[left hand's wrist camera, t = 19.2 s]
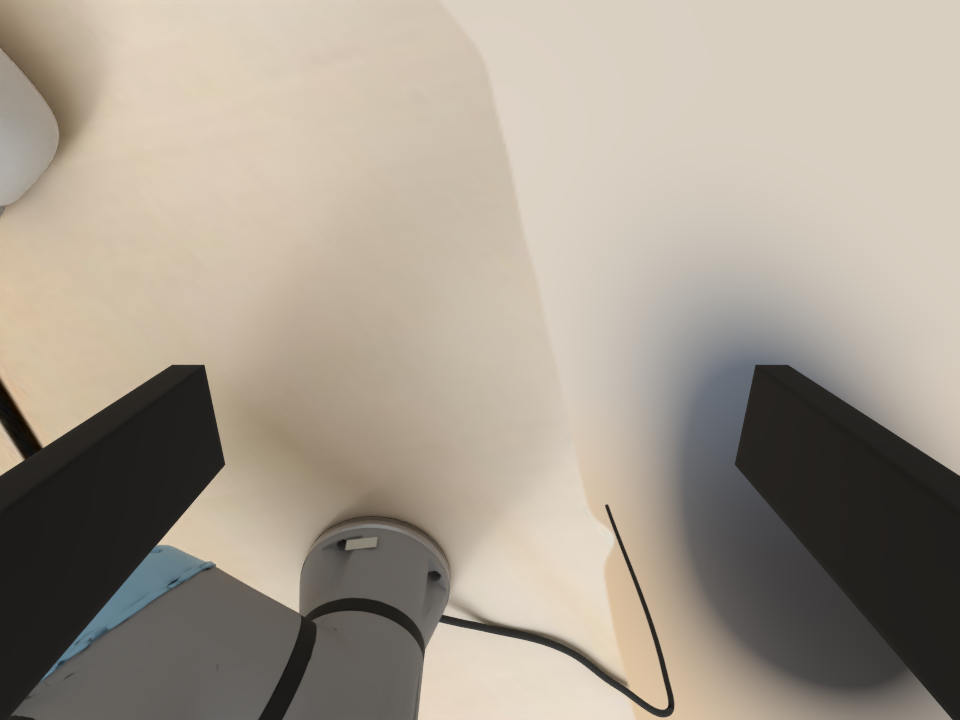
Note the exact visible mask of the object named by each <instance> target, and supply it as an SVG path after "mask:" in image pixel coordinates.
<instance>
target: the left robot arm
mask: <svg viewBox="0 0 960 720" xmlns="http://www.w3.org/2000/svg"><path fill="white" fill-rule="evenodd" d="M224 465H225V461H224V457H223V452H222V447H221V442H220V438H219V433H218V428H217V423H216V418H215V414H214V409H213V404H212V399H211V394H210V390H209V385H208V380H207V375H206V371H205V366H204V365H171V366H170V367H168V368H167V369H165V370H164V371H162V372H161V373H159V374H157V375H156V376H154V377H153V378H151V379H150V380H148V381H147V382H145V383H143V384H142V385H140V386H139V387H137V388H136V389H134V390H133V391H131V392H130V393H128V394H126V395H125V396H123V397H122V398H120V399H119V400H117V401H116V402H114V403H113V404H111V405H109V406H108V407H106V408H105V409H103V410H102V411H100V412H99V413H97V414H95V415H94V416H92V417H91V418H89V419H88V420H86V421H85V422H83V423H82V424H80V425H78V426H77V427H75V428H74V429H72V430H71V431H69V432H68V433H66V434H65V435H63V436H61V437H60V438H58V439H57V440H55V441H54V442H52V443H51V444H49V445H48V446H46V447H44V448H43V449H41V450H40V451H38V452H37V453H35V454H34V455H32V456H30V457H29V458H27V459H26V460H24V461H23V462H21V463H20V464H18V465H17V466H15V467H13V468H12V469H10V470H9V471H7V472H6V473H4V474H3V475H1V476H0V720H418V711H419V701H420V691H421V682H422V672H423V662H424V654H425V649H426V647H427V645H428V642H429V640H430V638H431V636H432V634H433V632H434V630H435V628H436V626H437V624H438V622H441V623H446V624H450V625H455V626H459V627H464V628H469V629H475V630H480V631H484V632H489V633H493V634H498V635H503V636H508V637H513V638H518V639H523V640H527V641H531V642H535V643H539V644H542V645H545V646H548V647H551V648H554V649H556V650H558V651H561V652H563V653H565V654H567V655H569V656H571V657H573V658H574V659H576V660H578V661H579V662H581V663H582V664H583V665H585V666H586V667H587V668H588V669H590V670H591V671H592V672H593V673H595V674H596V675H597V676H598V677H600V678H601V679H602V680H604V681H605V682H607V683H608V684H609V685H611V686H613V687H614V688H616V689H617V690H619V691H620V692H622V693H623V694H625V695H626V696H627V697H629V698H630V699H631V700H633V701H634V702H635V703H637V704H638V705H639V706H641V707H642V708H644V709H645V710H647V711H648V712H650V713H652V714H653V715H656V716H658V717H668V716H670V715H671V714H672V713H673V711H674V705H675V704H674V697H673V693H672V688H671V685H670V681H669V677H668V673H667V669H666V665H665V661H664V657H663V653H662V650H661V646H660V643H659V639H658V636H657V633H656V630H655V627H654V624H653V621H652V618H651V615H650V612H649V610H648V607H647V604H646V601H645V599H644V596H643V593H642V591H641V588H640V585H639V583H638V580H637V578H636V575H635V573H634V570H633V568H632V565H631V562H630V560H629V558H628V555H627V552H626V550H625V547H624V545H623V542H622V540H621V537H620V535H619V532H618V530H617V527H616V524H615V522H614V519H613V516H612V514H611V511H610V508H609V505H608V504H606V505H605V508H606V510H607V513H608V516H609V519H610V522H611V524H612V527H613V530H614V532H615V535H616V538H617V540H618V543H619V545H620V548H621V551H622V553H623V556H624V558H625V561H626V564H627V566H628V569H629V571H630V574H631V577H632V579H633V582H634V585H635V587H636V590H637V593H638V595H639V598H640V601H641V604H642V607H643V609H644V612H645V615H646V618H647V621H648V624H649V627H650V630H651V634H652V637H653V640H654V644H655V648H656V651H657V655H658V659H659V663H660V667H661V671H662V676H663V680H664V684H665V688H666V692H667V697H668V707H667V709H665V710H660V709H657V708H654V707H652V706H651V705H649V704H648V703H646V702H645V701H643V700H642V699H641V698H639V697H638V696H637V695H635V694H634V693H633V692H631V691H630V690H629V689H627V688H626V687H624V686H623V685H621V684H620V683H618V682H617V681H615V680H614V679H612V678H611V677H609V676H608V675H606V674H605V673H604V672H603V671H601V670H600V669H599V668H598V667H596V666H595V665H594V664H593V663H591V662H590V661H589V660H588V659H586V658H585V657H583V656H582V655H580V654H579V653H577V652H576V651H574V650H572V649H570V648H569V647H566V646H564V645H562V644H560V643H558V642H555V641H552V640H550V639H547V638H544V637H540V636H537V635H533V634H529V633H525V632H520V631H515V630H510V629H505V628H500V627H496V626H491V625H487V624H482V623H478V622H473V621H467V620H463V619H458V618H454V617H449V616H445V615H442V614H443V612H444V610H445V607H446V605H447V602H448V598H449V589H450V569H449V565H448V562H447V559H446V557H445V555H444V553H443V552H442V550H441V549H440V547H439V546H438V545H437V544H436V542H435V541H434V540H433V539H432V538H430V537H429V536H428V535H427V534H425V533H424V532H423V531H421V530H419V529H418V528H416V527H414V526H412V525H410V524H407V523H405V522H402V521H399V520H395V519H391V518H384V517H361V518H355V519H351V520H347V521H344V522H341V523H339V524H337V525H335V526H333V527H331V528H330V529H328V530H327V531H325V532H324V533H323V534H322V535H321V536H320V537H319V538H318V539H317V540H316V541H315V542H314V544H313V545H312V547H311V549H310V551H309V553H308V555H307V557H306V560H305V562H304V564H303V567H302V571H301V578H300V604H299V613H297V612H296V611H294V610H292V609H290V608H288V607H286V606H285V605H283V604H281V603H279V602H277V601H275V600H274V599H272V598H270V597H268V596H266V595H264V594H263V593H261V592H259V591H257V590H255V589H253V588H252V587H250V586H248V585H246V584H245V583H243V582H241V581H239V580H238V579H236V578H234V577H232V576H231V575H229V574H227V573H225V572H224V571H222V570H220V569H219V568H217V567H216V564H214V563H213V562H205V561H203V560H200V559H198V558H196V557H194V556H192V555H189V554H187V553H185V552H183V551H181V550H179V549H177V548H175V547H172V546H168V545H157V544H158V543H159V541H160V540H161V539H162V538H163V537H164V536H165V534H166V533H167V532H168V531H169V530H170V529H171V527H172V526H173V525H174V524H175V523H176V522H177V520H178V519H179V518H180V517H181V516H182V515H183V513H184V512H185V511H186V510H187V509H188V508H189V506H190V505H191V504H192V503H193V502H194V500H195V499H196V498H197V497H198V496H199V495H200V493H201V492H202V491H203V490H204V489H205V488H206V486H207V485H208V484H209V483H210V482H211V481H212V479H213V478H214V477H215V476H216V475H217V474H218V472H219V471H220V470H221V469H222V468H223V467H224ZM735 465H736V467H737V468H738V469H739V470H740V471H741V472H742V474H743V475H744V476H745V477H746V478H747V479H748V481H749V482H750V483H751V484H752V485H753V486H754V488H755V489H756V490H757V491H758V492H759V493H760V495H761V496H762V497H763V498H764V499H765V500H766V502H767V503H768V504H769V505H770V506H771V507H772V509H773V510H774V511H775V512H776V513H777V515H778V516H779V517H780V518H781V519H782V520H783V522H784V523H785V524H786V525H787V526H788V527H789V529H790V530H791V531H792V532H793V533H794V534H795V536H796V537H797V538H798V539H799V540H800V541H801V543H802V544H803V545H804V546H805V547H806V548H807V550H808V551H809V552H810V553H811V554H812V556H813V557H814V558H815V559H816V560H817V561H818V563H819V564H820V565H821V566H822V567H823V568H824V570H825V571H826V572H827V573H828V574H829V575H830V577H831V578H832V579H833V580H834V581H835V582H836V584H837V585H838V586H839V587H840V588H841V589H842V591H843V592H844V593H845V594H846V595H847V597H848V598H849V599H850V600H851V601H852V602H853V603H854V605H855V606H856V607H857V608H858V609H859V611H860V612H861V613H862V614H863V615H864V616H865V618H866V619H867V620H868V621H869V622H870V623H871V624H872V626H873V627H874V628H875V629H876V630H877V632H878V633H879V634H880V635H881V636H882V638H883V639H884V640H885V641H886V642H887V643H888V645H889V646H890V647H891V648H892V649H893V650H894V652H895V653H896V654H897V655H898V656H899V657H900V659H901V660H902V661H903V662H904V663H905V664H906V666H907V667H908V668H909V669H910V670H911V671H912V673H913V674H914V675H915V676H916V677H917V678H918V680H919V681H920V682H921V683H922V684H923V686H924V687H925V688H926V689H927V690H928V691H929V693H930V694H931V695H932V696H933V697H934V698H935V700H936V701H937V702H938V703H939V704H940V705H941V707H942V708H943V709H944V710H945V711H946V712H947V714H948V715H949V716H950V717H951V718H952V719H953V720H960V476H959V475H957V474H956V473H954V472H953V471H951V470H950V469H948V468H946V467H945V466H943V465H942V464H940V463H939V462H937V461H936V460H934V459H933V458H931V457H929V456H928V455H926V454H925V453H923V452H922V451H920V450H919V449H917V448H916V447H914V446H912V445H911V444H909V443H908V442H906V441H905V440H903V439H902V438H900V437H899V436H897V435H895V434H894V433H892V432H891V431H889V430H888V429H886V428H885V427H883V426H881V425H880V424H878V423H877V422H875V421H874V420H872V419H871V418H869V417H868V416H866V415H864V414H863V413H861V412H860V411H858V410H857V409H855V408H854V407H852V406H850V405H849V404H847V403H846V402H844V401H843V400H841V399H840V398H838V397H837V396H835V395H834V394H832V393H830V392H829V391H827V390H826V389H824V388H823V387H821V386H820V385H818V384H816V383H815V382H813V381H812V380H810V379H809V378H807V377H806V376H804V375H803V374H801V373H799V372H798V371H796V370H795V369H793V368H792V367H790V366H789V365H756V366H755V370H754V375H753V380H752V385H751V390H750V394H749V399H748V404H747V409H746V414H745V419H744V423H743V428H742V433H741V438H740V442H739V447H738V452H737V457H736V462H735Z"/></svg>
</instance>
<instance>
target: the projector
mask: <svg viewBox="0 0 960 720" xmlns="http://www.w3.org/2000/svg"><path fill="white" fill-rule="evenodd" d="M58 142H59V129H58V124H57V121H56V118H55V116H54V114H53V112H52V111H51V109H50V107H49V106H48V104H47V103H46V101H45V100H44V98H43V97H42V96H41V94H40V93H39V92H38V90H37V89H36V88H35V87H34V85H33V84H32V83H31V82H30V80H29V79H28V78H27V77H26V76H25V75H24V74H23V72H22V71H21V70H20V69H19V68H18V67H17V66H16V64H15V63H14V62H13V61H12V60H11V59H10V58H9V57H8V56H7V55H6V54H5V53H4V52H3V50H2V49H1V48H0V217H1V216H2V214H3V212H4V209H5V205H9V204H12V203H14V202H16V201H17V200H18V199H19V198H20V197H21V196H22V195H23V194H24V193H25V192H26V191H27V190H28V189H29V188H30V187H31V186H32V185H33V184H34V183H35V182H36V181H37V180H38V178H39V177H40V176H41V175H42V174H43V173H44V171H45V170H46V169H47V167H48V166H49V165H50V163H51V161H52V160H53V158H54V155H55V153H56V150H57V147H58Z"/></svg>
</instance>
